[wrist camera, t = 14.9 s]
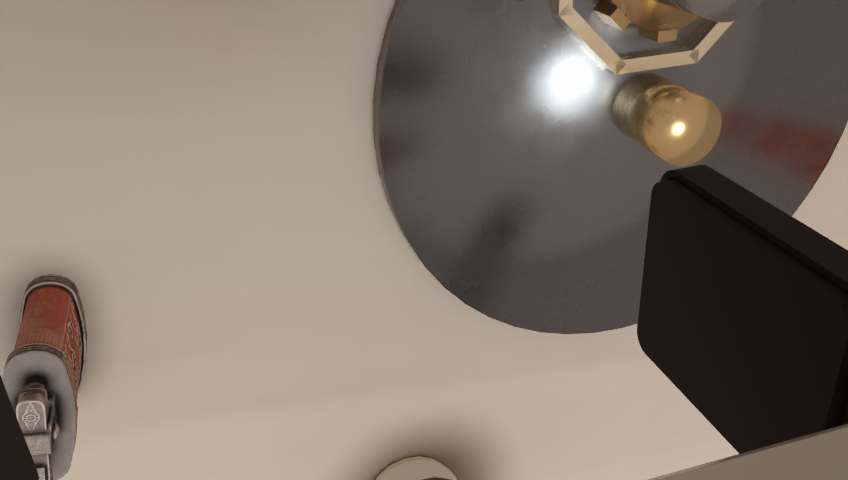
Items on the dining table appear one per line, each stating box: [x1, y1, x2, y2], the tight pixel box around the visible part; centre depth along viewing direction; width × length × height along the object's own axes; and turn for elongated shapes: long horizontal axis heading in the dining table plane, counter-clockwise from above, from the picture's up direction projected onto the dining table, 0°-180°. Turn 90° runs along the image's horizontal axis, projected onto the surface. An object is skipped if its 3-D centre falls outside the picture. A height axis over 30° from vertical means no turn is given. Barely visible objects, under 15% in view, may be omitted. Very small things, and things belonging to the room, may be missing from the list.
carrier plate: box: [373, 0, 848, 334], centre depth 46 cm, size 33×33×6 cm
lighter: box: [2, 275, 87, 480], centre depth 40 cm, size 8×3×10 cm, turn 171°
